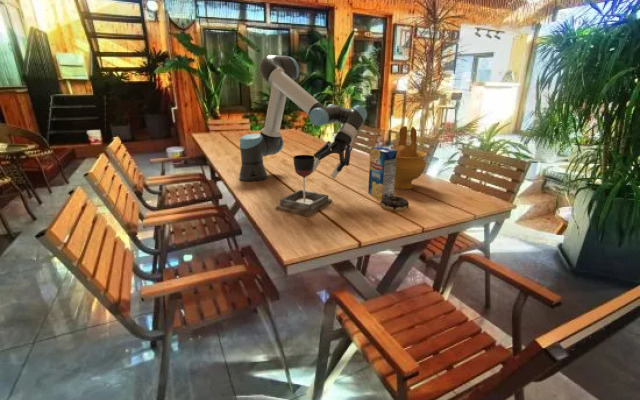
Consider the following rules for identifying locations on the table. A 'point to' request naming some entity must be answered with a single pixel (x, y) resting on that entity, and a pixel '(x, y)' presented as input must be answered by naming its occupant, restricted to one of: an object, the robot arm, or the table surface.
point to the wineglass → (304, 171)
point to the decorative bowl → (408, 160)
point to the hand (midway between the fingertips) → (321, 173)
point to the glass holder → (301, 208)
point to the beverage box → (382, 172)
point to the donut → (394, 203)
